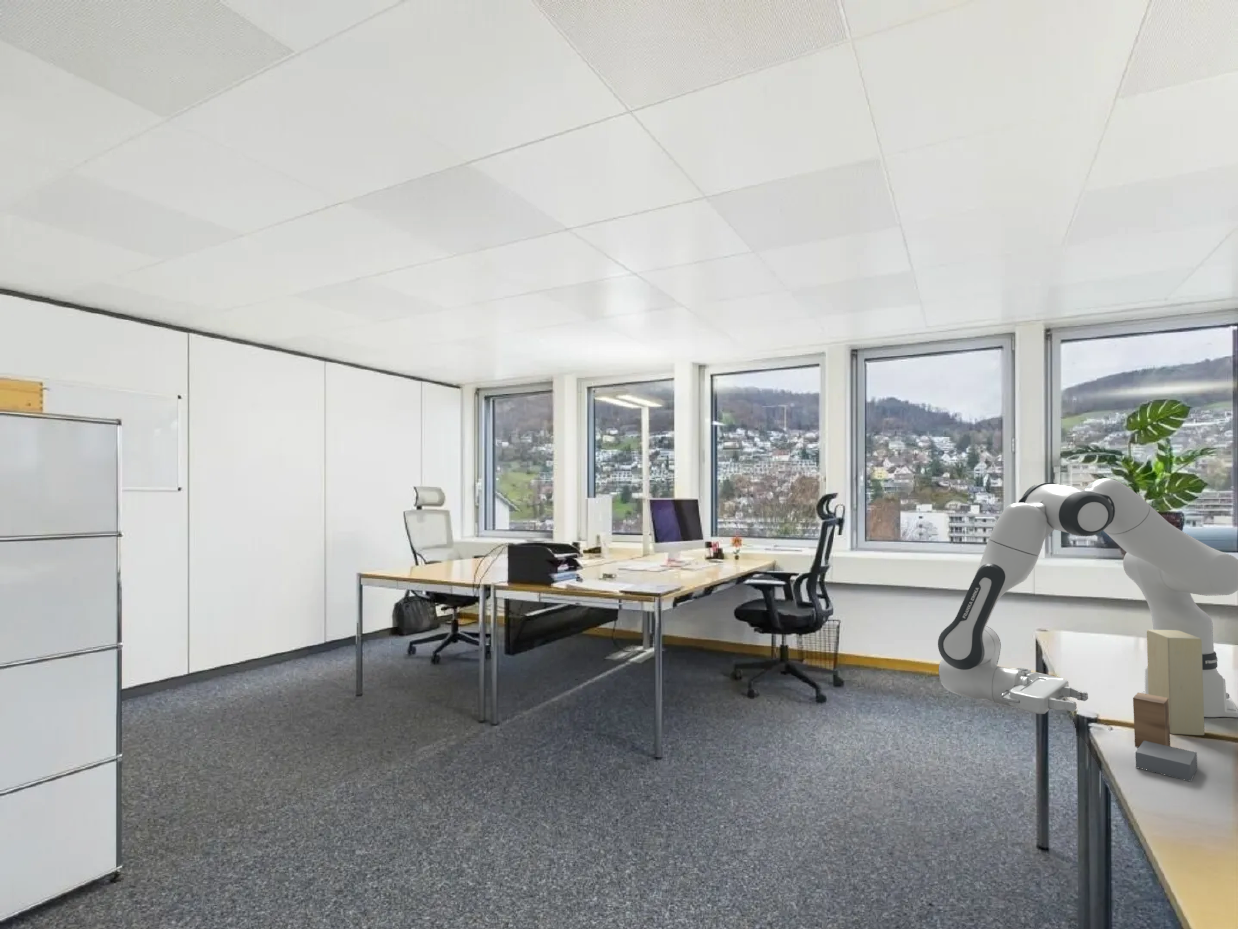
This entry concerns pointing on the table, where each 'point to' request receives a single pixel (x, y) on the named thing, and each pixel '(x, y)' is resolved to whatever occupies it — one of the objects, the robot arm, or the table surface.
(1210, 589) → the robot arm
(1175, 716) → the tall pale wood block
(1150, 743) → the base brick
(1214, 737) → the table surface
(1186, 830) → the table surface
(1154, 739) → the walnut brick
